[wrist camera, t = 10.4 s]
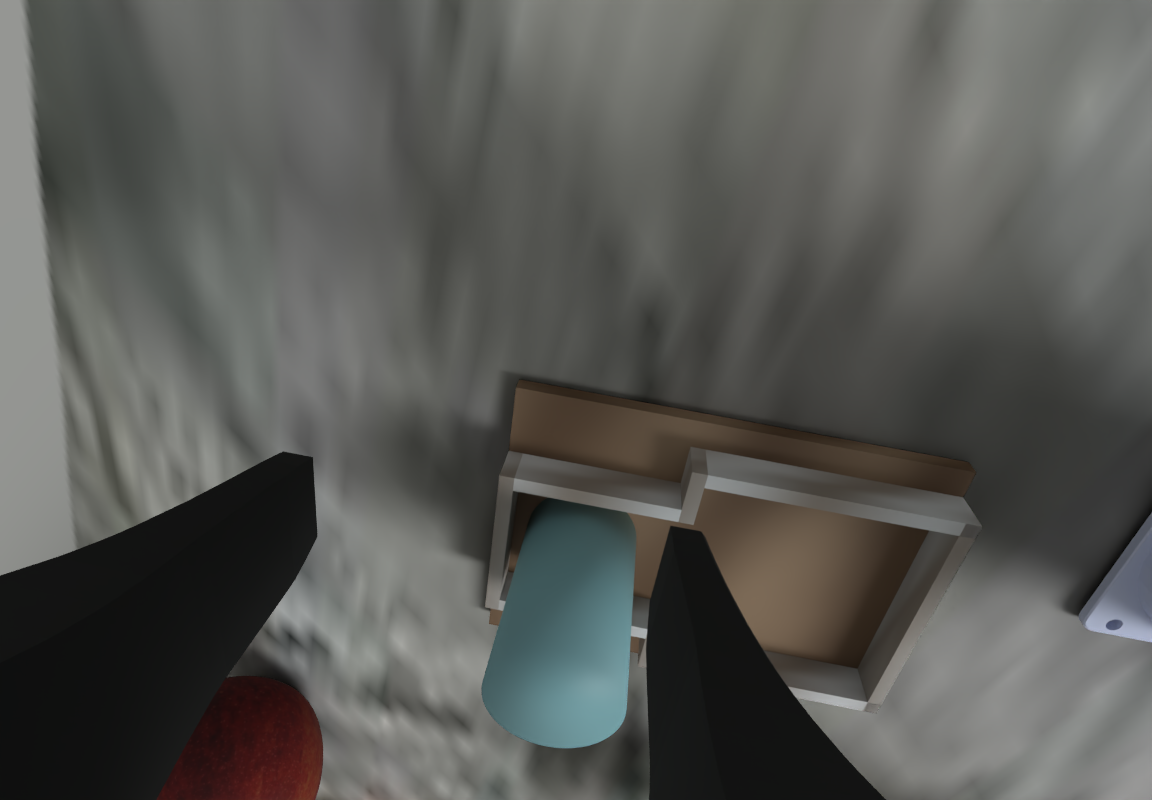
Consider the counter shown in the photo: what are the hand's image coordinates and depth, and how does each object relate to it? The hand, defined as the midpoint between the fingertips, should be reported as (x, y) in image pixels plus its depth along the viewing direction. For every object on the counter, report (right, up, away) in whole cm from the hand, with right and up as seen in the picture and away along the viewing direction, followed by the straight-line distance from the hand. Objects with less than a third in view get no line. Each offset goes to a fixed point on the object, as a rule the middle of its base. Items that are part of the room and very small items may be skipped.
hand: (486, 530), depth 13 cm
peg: (+2, -2, +11) cm, 11 cm away
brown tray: (+7, -3, +11) cm, 13 cm away
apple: (-13, -12, +19) cm, 26 cm away
